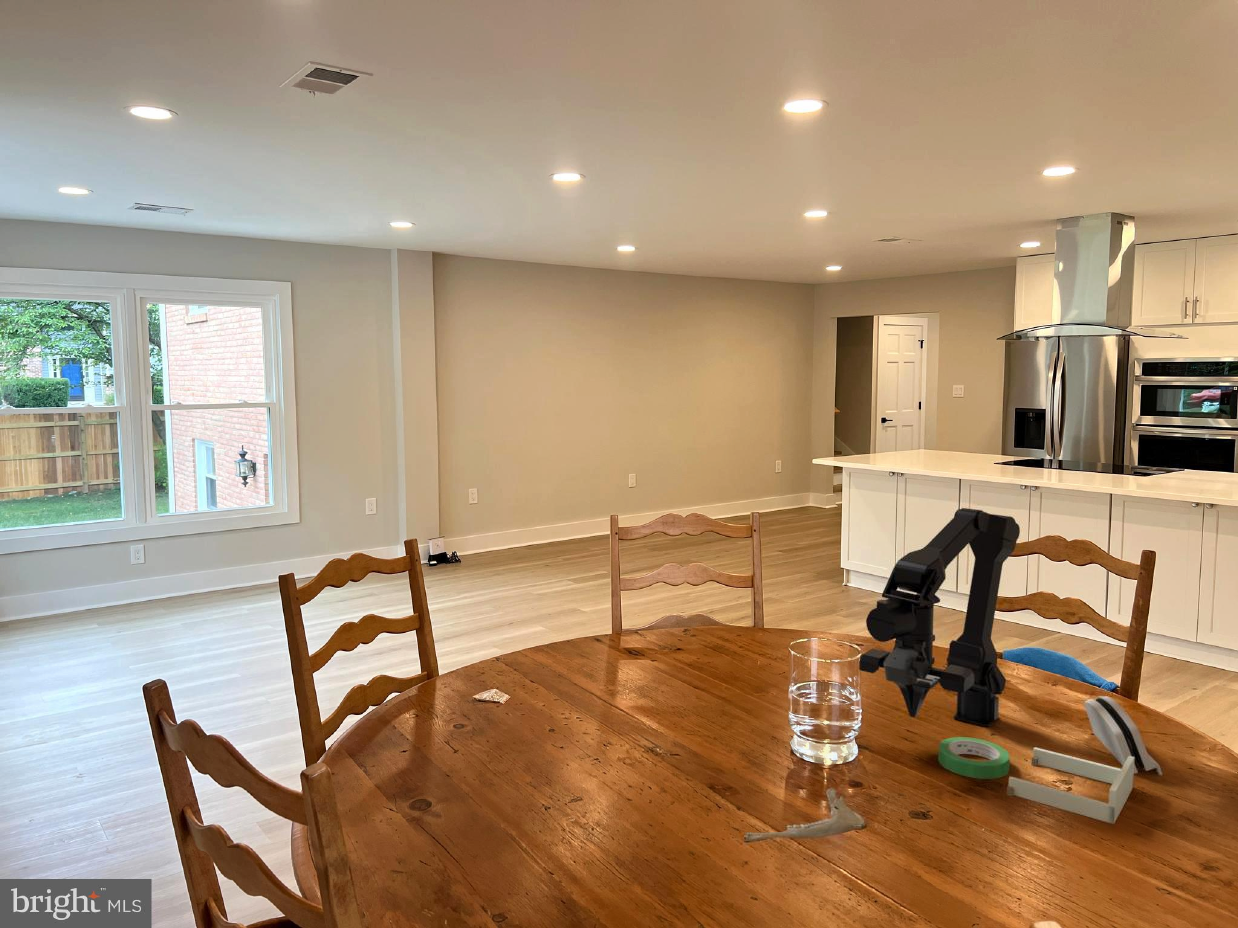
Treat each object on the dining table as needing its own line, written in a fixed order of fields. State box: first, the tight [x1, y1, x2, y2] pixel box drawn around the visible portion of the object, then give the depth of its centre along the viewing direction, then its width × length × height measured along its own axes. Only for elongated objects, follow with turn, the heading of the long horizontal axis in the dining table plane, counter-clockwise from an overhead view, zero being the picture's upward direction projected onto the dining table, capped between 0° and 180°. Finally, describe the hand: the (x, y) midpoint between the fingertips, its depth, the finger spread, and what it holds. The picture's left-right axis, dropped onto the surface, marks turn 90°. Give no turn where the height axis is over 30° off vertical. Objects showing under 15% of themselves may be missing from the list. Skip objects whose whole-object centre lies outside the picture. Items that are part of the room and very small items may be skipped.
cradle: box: [1006, 746, 1135, 825], centre depth 134 cm, size 15×16×5 cm
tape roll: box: [937, 736, 1011, 780], centre depth 144 cm, size 11×11×3 cm
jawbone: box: [743, 787, 866, 842], centre depth 124 cm, size 9×20×2 cm, turn 128°
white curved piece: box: [1083, 695, 1163, 776], centre depth 147 cm, size 17×5×10 cm, turn 170°
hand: (913, 716), depth 150 cm, fingers closed
